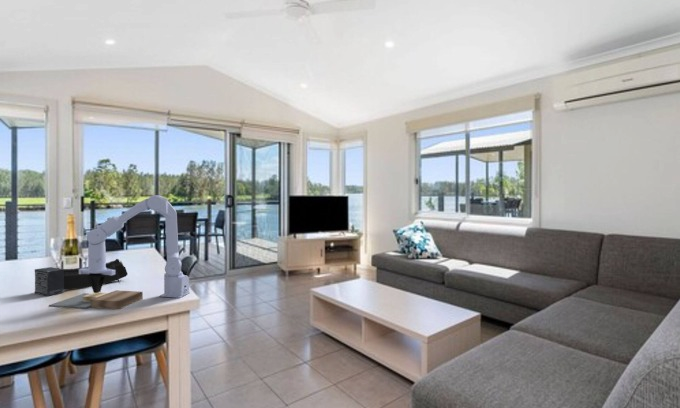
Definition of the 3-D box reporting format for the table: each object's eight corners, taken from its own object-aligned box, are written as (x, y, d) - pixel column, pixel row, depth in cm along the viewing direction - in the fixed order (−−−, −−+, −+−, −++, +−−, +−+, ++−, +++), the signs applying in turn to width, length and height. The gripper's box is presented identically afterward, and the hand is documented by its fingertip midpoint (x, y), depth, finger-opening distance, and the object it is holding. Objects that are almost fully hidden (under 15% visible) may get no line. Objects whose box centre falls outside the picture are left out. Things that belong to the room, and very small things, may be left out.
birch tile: (110, 297, 143) (110, 293, 143) (98, 302, 137) (98, 297, 137) (95, 296, 144) (95, 292, 144) (82, 301, 138) (82, 296, 138)
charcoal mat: (118, 296, 147) (118, 295, 147) (86, 308, 131) (86, 307, 131) (84, 294, 149) (84, 293, 149) (48, 306, 133) (48, 305, 133)
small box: (65, 292, 151) (64, 268, 150) (47, 296, 145) (47, 271, 144) (51, 289, 155) (51, 266, 155) (34, 293, 149) (33, 269, 149)
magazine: (43, 274, 146) (118, 246, 169) (41, 273, 148) (115, 245, 171) (58, 309, 151) (129, 277, 174) (56, 307, 152) (126, 276, 176)
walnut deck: (142, 298, 144) (142, 291, 144) (118, 309, 131) (118, 301, 131) (116, 297, 145) (116, 290, 145) (90, 307, 132) (90, 299, 132)
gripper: (121, 257, 142) (121, 290, 142) (89, 256, 143) (89, 288, 144) (107, 260, 135) (107, 295, 135) (74, 259, 136) (74, 293, 137)
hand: (97, 292), depth 139 cm, fingers closed
